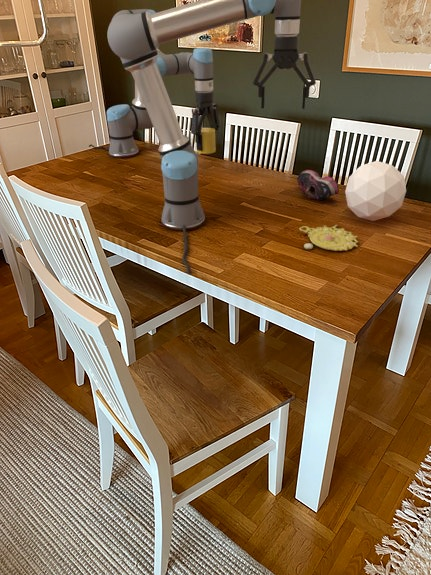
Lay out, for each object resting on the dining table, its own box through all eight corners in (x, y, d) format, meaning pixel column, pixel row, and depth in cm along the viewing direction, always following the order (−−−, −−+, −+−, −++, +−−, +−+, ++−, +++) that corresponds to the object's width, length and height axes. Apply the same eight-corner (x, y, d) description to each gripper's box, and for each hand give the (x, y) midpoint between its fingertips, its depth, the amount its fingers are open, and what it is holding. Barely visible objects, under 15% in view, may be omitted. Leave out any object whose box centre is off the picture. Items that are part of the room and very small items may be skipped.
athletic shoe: (306, 169, 182) (282, 176, 178) (340, 163, 162) (313, 171, 158) (311, 196, 184) (288, 204, 181) (345, 193, 165) (320, 202, 161)
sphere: (378, 240, 155) (398, 211, 136) (328, 211, 159) (341, 179, 141) (404, 201, 160) (427, 168, 141) (355, 174, 164) (371, 139, 145)
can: (197, 149, 196) (196, 128, 191) (215, 148, 196) (214, 127, 191) (197, 154, 189) (196, 132, 184) (216, 153, 190) (215, 131, 185)
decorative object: (343, 255, 128) (285, 234, 139) (342, 262, 130) (284, 241, 140) (372, 230, 142) (317, 213, 152) (371, 237, 143) (316, 219, 153)
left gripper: (193, 96, 171) (196, 155, 183) (227, 88, 184) (228, 144, 196) (179, 94, 175) (183, 152, 188) (214, 87, 188) (215, 141, 201)
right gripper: (327, 34, 139) (320, 105, 150) (248, 35, 143) (247, 105, 154) (328, 35, 133) (320, 110, 144) (245, 37, 137) (244, 109, 148)
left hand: (206, 147), depth 192 cm, fingers closed on can, 8 cm apart
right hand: (282, 107), depth 149 cm, fingers open, 13 cm apart
